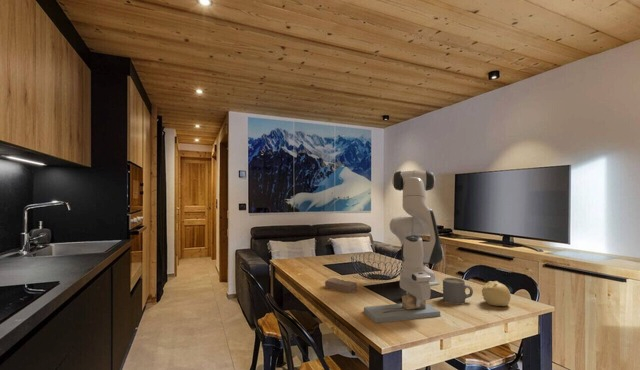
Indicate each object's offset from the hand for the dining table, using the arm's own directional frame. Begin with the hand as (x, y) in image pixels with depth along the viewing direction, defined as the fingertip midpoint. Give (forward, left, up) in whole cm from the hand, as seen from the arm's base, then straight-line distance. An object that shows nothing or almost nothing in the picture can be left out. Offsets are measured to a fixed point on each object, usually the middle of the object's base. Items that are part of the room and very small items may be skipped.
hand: (413, 304), depth 140 cm
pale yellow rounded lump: (-43, 0, -4) cm, 44 cm away
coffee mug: (-28, -8, -4) cm, 30 cm away
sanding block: (0, 0, -2) cm, 2 cm away
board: (+6, 0, -4) cm, 7 cm away
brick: (+21, -42, -4) cm, 47 cm away
